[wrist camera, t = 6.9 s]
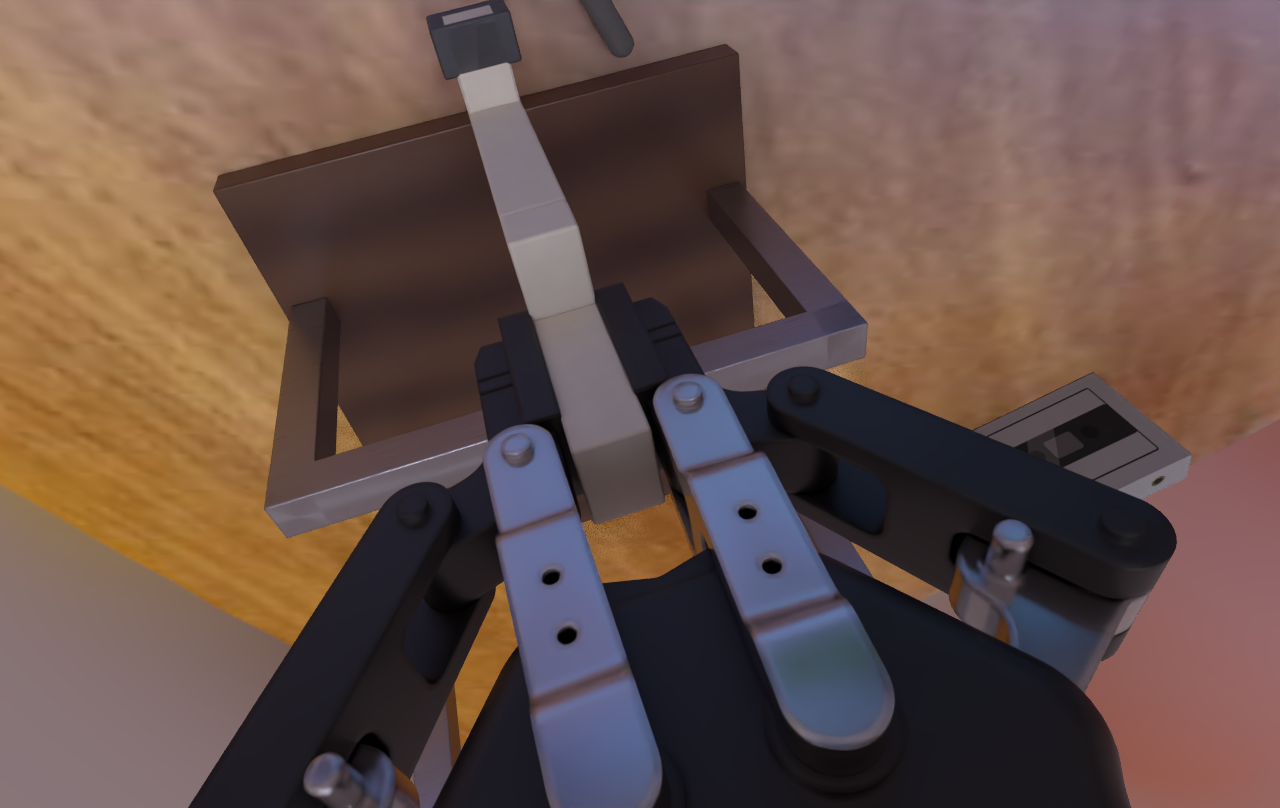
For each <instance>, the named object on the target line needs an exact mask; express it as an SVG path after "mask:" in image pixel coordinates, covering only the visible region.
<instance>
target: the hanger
mask: <svg viewBox="0 0 1280 808" xmlns="http://www.w3.org/2000/svg"><path fill="white" fill-rule="evenodd" d="M426 20H427V24H428V28H429V32H430V35H431V38H432V41H433V44H434V47H435V51H436V54H437V57H438V60H439V63H440V66H441V69H442V72H443V75H444V78H445V79H446V80H448V79H452V78H456V77H457V79H458V82H459V86H460V89H461V92H462V95H463V98H464V101H465V105H466V108H467V111H468V114H469V118H470V121H471V124H472V128H473V131H474V134H475V138H476V141H477V145H478V148H479V151H480V155H481V158H482V161H483V165H484V168H485V172H486V175H487V178H488V182H489V185H490V188H491V192H492V195H493V199H494V202H495V205H496V209H497V212H498V215H499V219H500V222H501V226H502V229H503V232H504V236H505V239H506V242H507V246H508V249H509V252H510V255H511V258H512V262H513V265H514V268H515V271H516V274H517V277H518V281H519V284H520V287H521V290H522V293H523V296H524V299H525V303H526V306H527V309H528V312H529V315H531V317H532V320H533V323H534V327H535V330H536V333H537V337H538V340H539V343H540V347H541V350H542V353H543V356H544V360H545V363H546V366H547V370H548V373H549V376H550V380H551V383H552V386H553V389H554V393H555V396H556V399H557V403H558V406H559V409H560V413H561V416H562V417H561V422H562V425H563V429H564V432H565V435H566V439H567V442H568V445H569V449H570V452H571V455H572V458H573V461H574V465H575V468H576V471H577V474H578V477H579V480H580V483H581V486H582V489H583V493H584V496H585V499H586V502H587V505H588V508H589V511H590V514H591V517H592V521H593V523H594V524H600V523H603V522H606V521H609V520H613V519H616V518H619V517H622V516H625V515H628V514H631V513H634V512H637V511H640V510H643V509H646V508H649V507H653V506H656V505H659V504H662V503H664V502H665V495H664V490H663V485H662V480H661V476H660V471H659V466H658V461H657V456H656V451H655V446H654V441H653V437H652V432H651V428H650V425H649V423H648V421H647V418H646V416H645V414H644V411H643V409H642V407H641V404H640V402H639V400H638V397H637V396H636V395H635V393H634V391H633V389H632V386H631V384H630V382H629V379H628V377H627V375H626V372H625V370H624V368H623V365H622V363H621V361H620V358H619V356H618V354H617V351H616V349H615V347H614V344H613V342H612V340H611V337H610V335H609V333H608V330H607V328H606V325H605V323H604V321H603V318H602V316H601V314H600V311H599V309H598V307H597V304H596V302H595V298H594V297H595V294H594V290H593V286H592V281H591V277H590V273H589V269H588V265H587V260H586V256H585V252H584V248H583V243H582V239H581V235H580V231H579V227H578V224H577V222H576V220H575V218H574V216H573V214H572V211H571V209H570V207H569V205H568V203H567V201H566V198H565V196H564V194H563V192H562V190H561V187H560V185H559V183H558V181H557V179H556V177H555V174H554V172H553V170H552V168H551V166H550V164H549V161H548V159H547V157H546V155H545V153H544V151H543V149H542V146H541V144H540V142H539V140H538V138H537V136H536V133H535V131H534V129H533V127H532V125H531V123H530V120H529V118H528V116H527V114H526V112H525V110H524V107H523V105H522V103H521V101H520V97H519V93H518V89H517V85H516V82H515V78H514V74H513V70H512V66H511V63H514V62H518V61H521V59H522V58H521V54H520V50H519V46H518V42H517V38H516V34H515V30H514V26H513V22H512V18H511V14H510V11H509V9H508V8H507V6H506V4H505V3H504V1H503V0H489V1H485V2H481V3H477V4H473V5H469V6H465V7H461V8H457V9H453V10H449V11H445V12H441V13H437V14H433V15H429V16H427V17H426Z"/></svg>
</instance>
